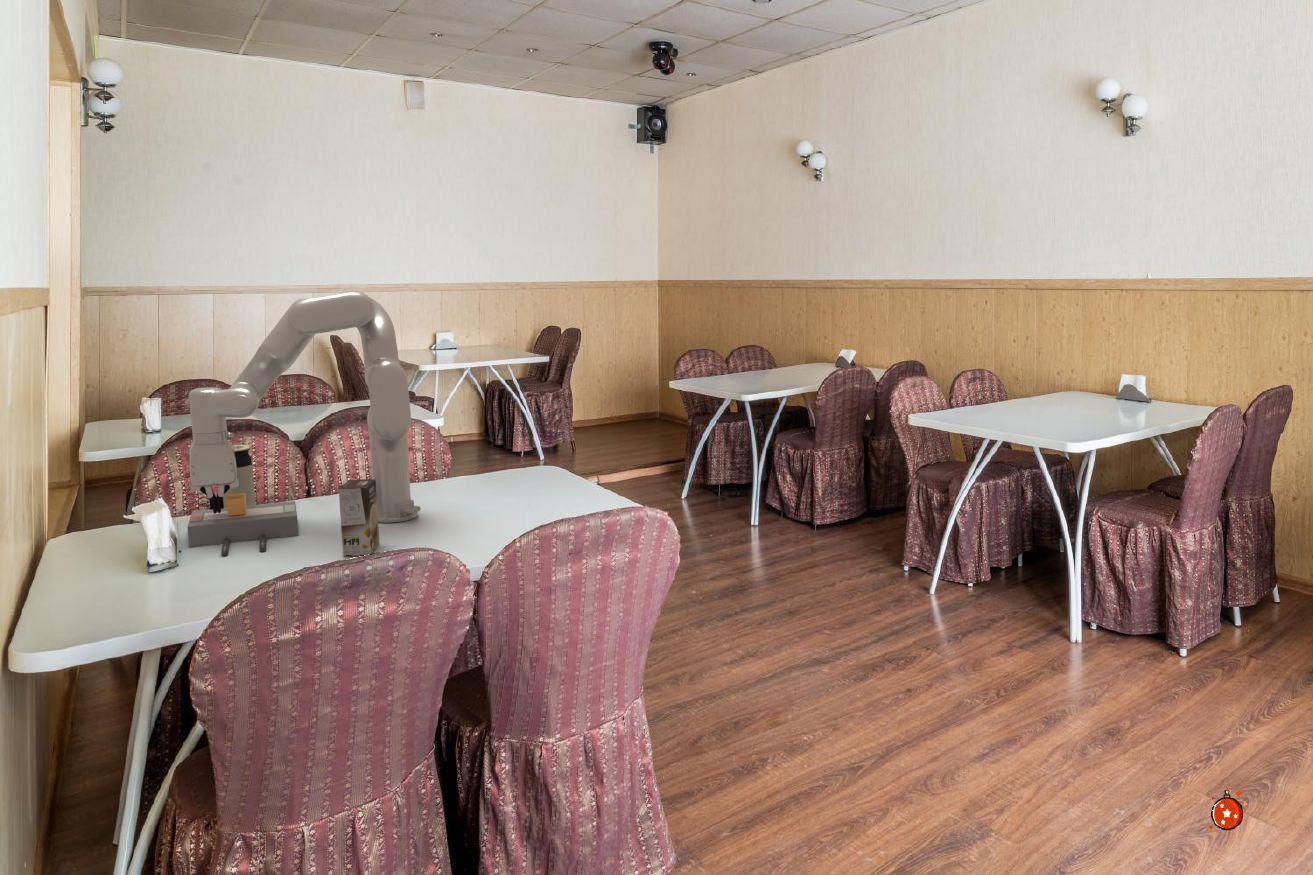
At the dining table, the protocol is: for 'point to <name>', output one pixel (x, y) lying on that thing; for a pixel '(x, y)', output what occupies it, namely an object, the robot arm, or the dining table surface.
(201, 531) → the box
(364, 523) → the coffee box
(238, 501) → the knob
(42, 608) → the dining table surface
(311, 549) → the dining table surface
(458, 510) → the dining table surface
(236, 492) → the travel mug
